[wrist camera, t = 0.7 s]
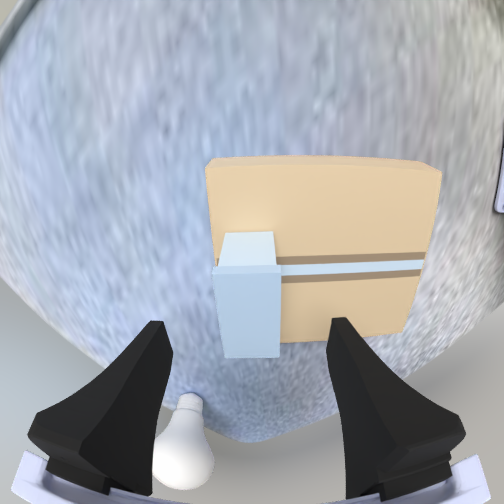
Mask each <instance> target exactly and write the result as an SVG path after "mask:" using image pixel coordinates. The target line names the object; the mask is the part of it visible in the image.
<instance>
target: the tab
mask: <svg viewBox="0 0 504 504" xmlns="http://www.w3.org/2000/svg"><path fill="white" fill-rule="evenodd" d="M212 281H213V288H214V295H215V301H216V308H217V315H218V321H219V327H220V333H221V340H222V346H223V352H224V357H225V358H278V357H279V355H280V320H281V266H280V265H277V264H276V254H275V245H274V235H273V231H263V232H232V233H225V237H224V241H223V245H222V250H221V254H220V258H219V263H218V266H214V267H213V271H212Z"/></svg>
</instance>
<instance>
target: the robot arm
mask: <svg viewBox="0 0 504 504" xmlns="http://www.w3.org/2000/svg"><path fill="white" fill-rule="evenodd" d="M495 210H496V211H497V212H500V213H504V150H503V159H502V166H501V173H500V179H499V185H498V191H497V196H496V201H495ZM326 353H327V361H328V368H329V373H330V377H331V381H332V385H333V389H334V392H335V396H336V400H337V404H338V408H339V412H340V417H341V424H342V432H343V441H344V453H345V469H346V500H342V501H336V502H330V503H323V504H483V503H485V502H486V501H488V500H489V499H490V498H491V496H490V493H489V489H488V486H487V482H486V479H485V476H484V472H483V469H482V466H481V463H480V460H479V457H478V454H474V455H472V456H470V457H468V458H466V459H464V460H461V461H460V462H457V463H455V464H453V465H451V466H450V464H449V461H450V460H451V454H450V451H451V450H452V449H453V448H455V447H456V446H457V445H458V444H459V443H460V442H461V441H462V440H463V439H464V437H465V435H466V432H465V430H464V427H463V424H462V422H461V420H460V418H459V416H458V415H457V414H455V413H453V412H451V411H449V410H447V409H445V408H443V407H441V406H439V405H437V404H435V403H434V402H432V401H431V400H429V399H427V398H426V397H424V396H423V395H421V394H420V393H419V392H417V391H416V390H414V389H413V388H412V387H410V386H409V385H408V384H406V383H405V382H404V381H403V380H402V379H401V378H399V377H398V376H397V375H396V374H395V373H394V372H393V371H392V370H391V369H390V368H389V367H388V366H387V365H386V364H385V363H384V362H383V361H382V360H381V359H380V358H379V357H378V356H377V355H376V354H375V352H374V351H373V350H372V349H371V348H370V347H369V345H368V344H367V343H366V342H365V341H364V339H363V338H362V337H361V336H360V334H359V333H358V332H357V330H356V329H355V328H354V327H353V325H352V324H351V323H350V321H349V320H348V319H347V318H346V317H337V318H332V320H331V326H330V332H329V337H328V343H327V348H326ZM172 358H173V350H172V347H171V344H170V341H169V338H168V335H167V332H166V329H165V325H164V322H163V321H150V322H149V323H148V324H147V325H146V326H145V327H144V328H143V329H142V331H141V332H140V333H139V334H138V335H137V336H136V337H135V339H134V340H133V341H132V342H131V343H130V344H129V345H128V346H127V347H126V349H125V350H124V351H123V352H122V353H121V354H120V355H119V356H118V357H117V358H116V359H115V360H114V361H113V362H112V363H111V364H110V365H109V366H108V367H107V368H106V369H105V370H104V371H103V372H102V373H101V374H99V375H98V376H97V377H96V378H95V379H93V380H92V381H91V382H90V383H88V384H87V385H85V386H84V387H83V388H81V389H80V390H78V391H77V392H76V393H74V394H73V395H71V396H69V397H68V398H66V399H64V400H63V401H61V402H59V403H57V404H55V405H53V406H51V407H49V408H47V409H45V410H42V411H40V412H38V413H37V414H36V416H35V418H34V421H33V423H32V425H31V427H30V429H29V432H28V438H29V439H30V440H31V441H32V442H33V443H34V444H35V445H36V446H37V447H38V448H40V449H41V450H42V451H43V452H45V453H46V454H47V455H49V456H50V458H49V460H48V461H47V460H45V459H44V458H42V457H40V456H38V455H35V454H33V453H31V452H29V451H27V450H25V452H24V454H23V457H22V459H21V462H20V465H19V468H18V470H17V473H16V477H15V479H14V482H13V485H12V488H11V490H12V492H14V493H15V494H17V495H18V496H20V497H22V498H23V499H25V500H27V501H28V502H30V503H31V504H188V503H180V502H174V501H168V500H163V499H157V498H152V497H148V496H150V495H151V494H152V467H153V451H154V441H155V433H156V425H157V419H158V415H159V411H160V407H161V404H162V400H163V396H164V393H165V389H166V386H167V382H168V379H169V375H170V371H171V365H172Z"/></svg>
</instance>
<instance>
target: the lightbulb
mask: <svg viewBox="0 0 504 504" xmlns="http://www.w3.org/2000/svg"><path fill="white" fill-rule="evenodd" d="M202 408H203V401H202V399H201V398H200V397H199V396H197V395H196V394H194V393H188V394H183V395H181V396H180V397H179V400H178V403H177V407H176V410H175V411H174V412H173V415H172V418H171V420H170V422H169V425H168V426H167V427H166V429H165V430H164V431H163V432H162V433H161V434H160V435H159V436H158V437H157V438H156V439H155V441H154V451H153V467H152V474H153V475H154V476H155V478H157V479H158V480H159V481H160V482H161V483H163V484H164V485H166V486H168V487H171V488H173V489H177V490H189V489H194V488H197V487H199V486H201V485H203V484H204V483H205V482H206V481H207V480H208V479H209V478H210V477H211V475H212V473H213V470H214V463H215V461H214V456H213V454H212V451H211V449H210V446H209V444H208V442H207V440H206V438H205V434H204V427H203V423H204V418H203V416H202V411H203V409H202Z"/></svg>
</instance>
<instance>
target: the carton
mask: <svg viewBox="0 0 504 504" xmlns="http://www.w3.org/2000/svg"><path fill="white" fill-rule="evenodd" d="M205 174H206V184H207V194H208V204H209V213H210V222H211V231H212V240H213V248H214V257H215V265H216V266H218V263H219V258H220V254H221V250H222V245H223V241H224V237H225V233H232V232H263V231H273V235H274V245H275V254H276V264H277V265H280V266H281V320H280V343H292V342H310V341H325V340H328V337H329V332H330V326H331V320H332V318H337V317H346V318H347V319H348V320H349V321H350V323H351V324H352V325H353V327H354V328H355V329H356V330H357V332H358V333H359V334H360V336H361V337H369V336H378V335H386V334H394V333H401V332H402V331H403V328H404V326H405V323H406V320H407V317H408V314H409V312H410V309H411V306H412V303H413V300H414V296H415V293H416V290H417V287H418V284H419V280H420V277H421V273H422V270H423V266H424V262H425V259H426V255H427V251H428V247H429V242H430V238H431V234H432V229H433V224H434V220H435V215H436V209H437V204H438V198H439V192H440V185H441V178H442V172H441V171H439V170H437V169H435V168H433V167H431V166H429V165H427V164H425V163H423V162H419V161H409V160H399V159H386V158H372V157H354V156H324V155H274V156H244V157H225V158H213V159H212V160H211V161H210V162H209V164H208V165H207V166H206V168H205Z"/></svg>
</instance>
